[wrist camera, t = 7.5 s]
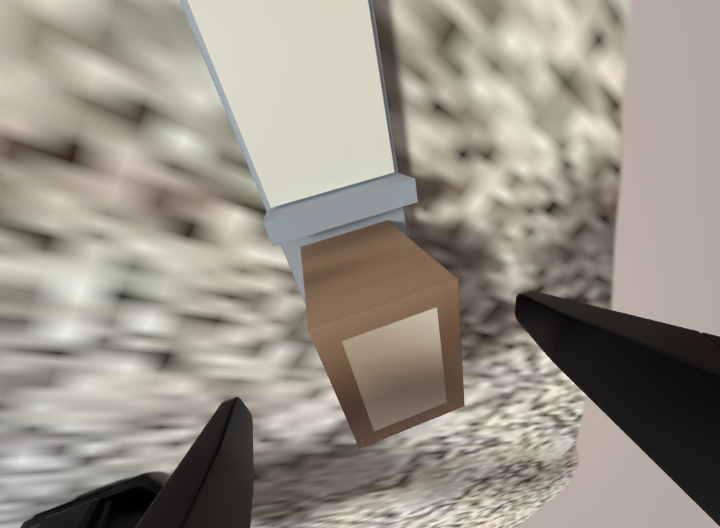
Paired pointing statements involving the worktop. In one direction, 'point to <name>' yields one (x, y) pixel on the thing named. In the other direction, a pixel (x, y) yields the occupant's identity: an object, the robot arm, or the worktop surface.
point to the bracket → (306, 113)
